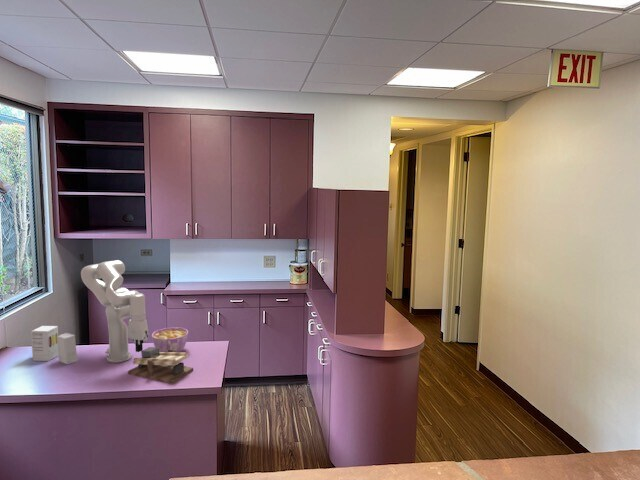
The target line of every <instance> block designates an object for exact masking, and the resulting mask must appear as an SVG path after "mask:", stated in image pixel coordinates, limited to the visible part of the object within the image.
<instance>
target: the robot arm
mask: <svg viewBox="0 0 640 480" xmlns="http://www.w3.org/2000/svg"><path fill="white" fill-rule="evenodd" d="M125 271H126V266H125V262H123V261H122V260H119V259H115V260H109V261H108V260H107V261H103V262H100V263H95V264H94V263H93V264H89V265H86V266H84V267H83V268H82V269H81V271H80V277H81V281H82V283H83V284H84V285H85V286H86V287H87V288H88V289H89V290H90V291H91V292H92V293H93V294H94V296H95V297H96V298H97V300H98V301H99V303H100V304H101V305H102V306H103V307H105V316H106V319H107V321H106V322H107V327H108V344H109V345H108V347H109V348H107V350H106V351H105V352H104V353H105V354H108V356H106V361H107V362H108V363H114V364H115V363H116V364H117V363H122V362H123V363H124V362H126V361H129V360H130V359H132V358H133V357H132V356H133V354H132V353H131V352H130V351H129V350H130V349H129V339H130V340H132V341H133V343H134V345H135V352H136V353H139V352H141V351H143V350H144V349H143V347H144V346H143V344H144V343H146V342H148V341H149V339H148V338H149V325H148V322H147V321H148V320H147V319H146V318H147V317H146V316H147V315H146V295H145V294H144V293H141V292H139V291H137V290H135V289H134V290H133V289H132V290H129V289H128V288H126V287H122V286H121V285H123V283H124V277H123V276H122V274H124V273H125ZM101 279H102V280H101ZM120 286H121V287H120ZM128 318H129V319H128ZM125 319H128V324H127V323H126V322H125V321H124V320H125Z"/></svg>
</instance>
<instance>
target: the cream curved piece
mask: <svg viewBox="0 0 640 480" xmlns="http://www.w3.org/2000/svg"><path fill="white" fill-rule="evenodd" d="M159 354H160V356H158V357H156V358H142V356H141V357H134V358H133V361H132V363H133V365H138V364H143V365H148V364H147V360H152V365H176V364H178V363H180V362H182V361H184V360H186V359H187V358H189V354H188V352H182V351H179V352H159Z"/></svg>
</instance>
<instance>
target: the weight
mask: <svg viewBox="0 0 640 480" xmlns="http://www.w3.org/2000/svg"><path fill="white" fill-rule="evenodd" d="M140 352H141V353H140V354H141V357H142V358H156V357H158V356H160V354H159V347H155V346H153V347H146V348H145V349H143V350H142V351H140Z"/></svg>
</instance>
